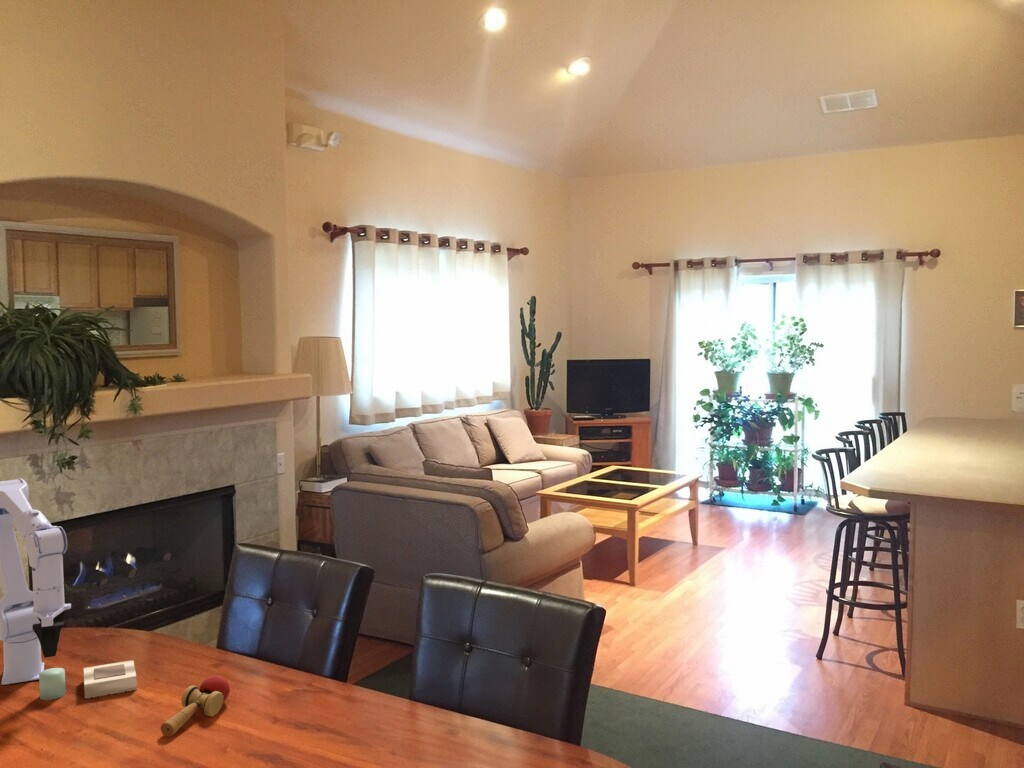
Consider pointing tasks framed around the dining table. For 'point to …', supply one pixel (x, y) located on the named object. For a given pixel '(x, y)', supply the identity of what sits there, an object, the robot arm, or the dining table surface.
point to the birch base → (109, 679)
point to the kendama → (199, 702)
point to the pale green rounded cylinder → (52, 683)
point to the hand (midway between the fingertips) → (51, 650)
